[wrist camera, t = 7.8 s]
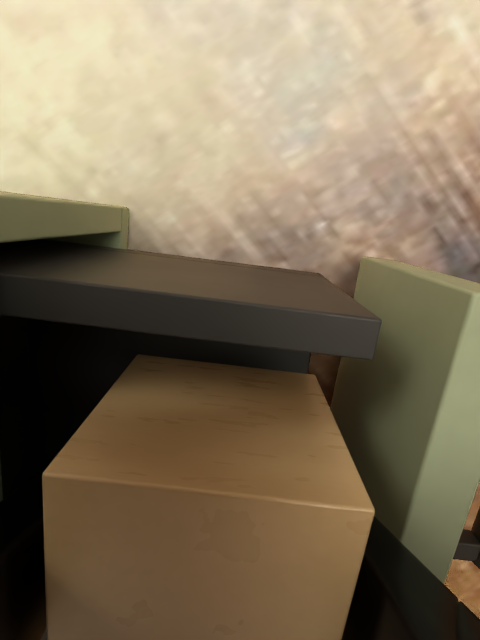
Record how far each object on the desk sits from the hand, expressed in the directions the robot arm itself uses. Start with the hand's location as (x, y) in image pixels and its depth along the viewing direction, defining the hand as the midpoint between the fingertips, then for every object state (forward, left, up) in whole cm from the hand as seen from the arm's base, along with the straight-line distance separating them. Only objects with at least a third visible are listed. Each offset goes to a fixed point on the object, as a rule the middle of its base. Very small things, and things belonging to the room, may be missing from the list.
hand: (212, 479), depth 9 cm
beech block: (0, 0, -2) cm, 2 cm away
